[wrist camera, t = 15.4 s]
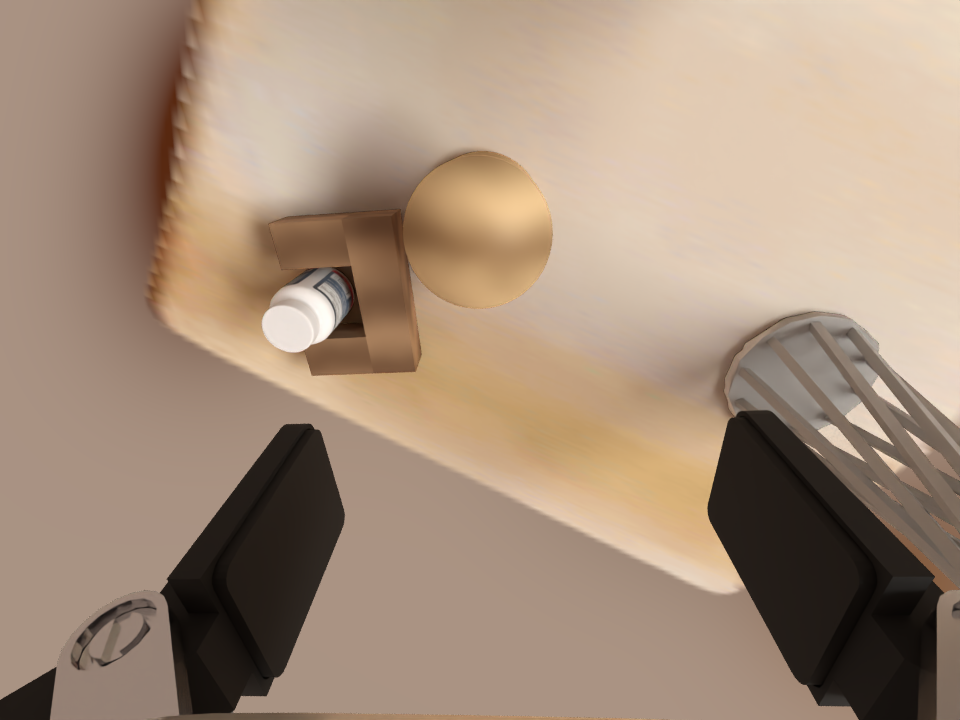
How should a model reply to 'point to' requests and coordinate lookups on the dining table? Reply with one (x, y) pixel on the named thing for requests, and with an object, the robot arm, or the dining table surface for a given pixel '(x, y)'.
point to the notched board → (358, 288)
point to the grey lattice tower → (828, 398)
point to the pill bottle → (308, 309)
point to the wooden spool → (478, 230)
